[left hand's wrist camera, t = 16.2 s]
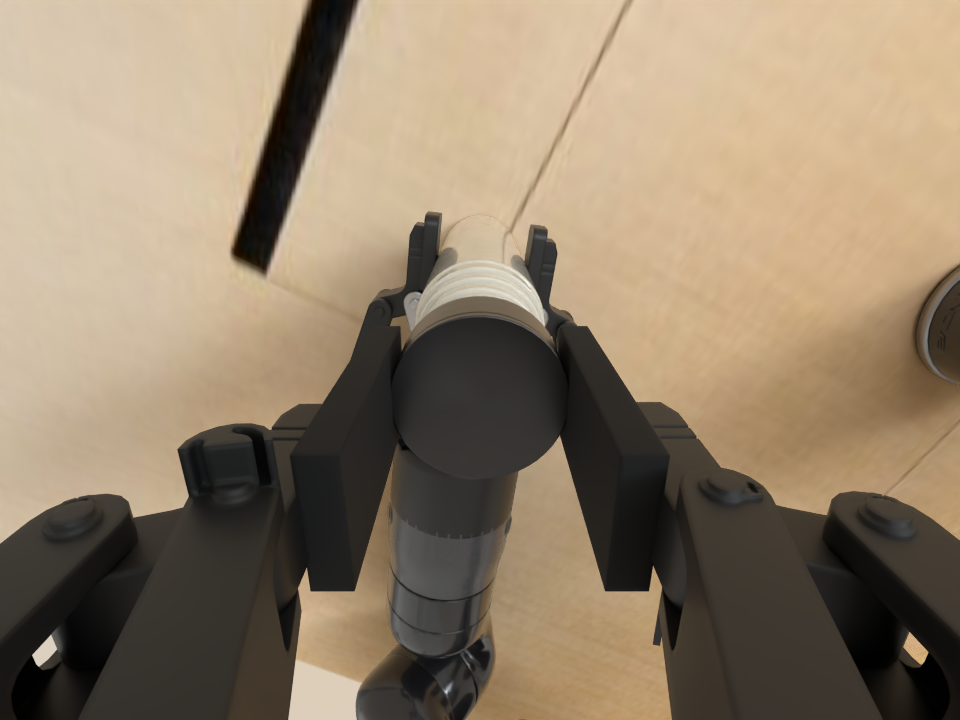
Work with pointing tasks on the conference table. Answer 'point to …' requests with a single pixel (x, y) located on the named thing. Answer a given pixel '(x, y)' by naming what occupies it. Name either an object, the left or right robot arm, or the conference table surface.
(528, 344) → the cap
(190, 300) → the conference table surface
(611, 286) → the conference table surface
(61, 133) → the conference table surface
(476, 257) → the bottle
